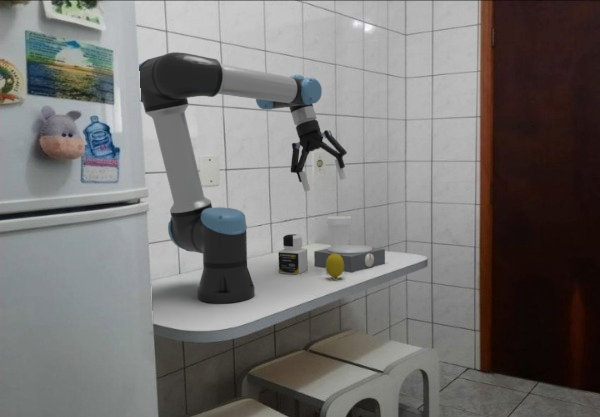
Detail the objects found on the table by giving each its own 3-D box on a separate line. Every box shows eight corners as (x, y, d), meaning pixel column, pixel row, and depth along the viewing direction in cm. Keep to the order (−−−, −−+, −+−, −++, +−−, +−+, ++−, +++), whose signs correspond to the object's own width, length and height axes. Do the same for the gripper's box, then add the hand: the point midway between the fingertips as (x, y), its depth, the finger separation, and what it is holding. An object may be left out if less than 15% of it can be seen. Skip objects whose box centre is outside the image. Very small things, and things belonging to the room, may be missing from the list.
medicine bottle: (278, 273, 171) (277, 236, 170) (288, 268, 177) (287, 232, 176) (298, 274, 168) (297, 237, 167) (308, 270, 174) (307, 233, 173)
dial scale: (352, 272, 169) (352, 255, 169) (314, 265, 181) (314, 249, 181) (386, 263, 182) (386, 247, 181) (348, 257, 194) (348, 242, 193)
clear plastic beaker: (352, 248, 214) (352, 216, 212) (350, 252, 205) (350, 218, 203) (329, 248, 215) (328, 216, 214) (326, 252, 206) (325, 218, 205)
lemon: (343, 281, 158) (342, 254, 157) (324, 280, 159) (324, 254, 158) (345, 276, 163) (345, 251, 163) (327, 276, 165) (327, 250, 164)
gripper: (344, 109, 172) (363, 172, 171) (280, 135, 184) (298, 194, 183) (334, 108, 165) (354, 174, 165) (269, 135, 177) (287, 196, 177)
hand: (325, 185), depth 174 cm, fingers open, 13 cm apart
